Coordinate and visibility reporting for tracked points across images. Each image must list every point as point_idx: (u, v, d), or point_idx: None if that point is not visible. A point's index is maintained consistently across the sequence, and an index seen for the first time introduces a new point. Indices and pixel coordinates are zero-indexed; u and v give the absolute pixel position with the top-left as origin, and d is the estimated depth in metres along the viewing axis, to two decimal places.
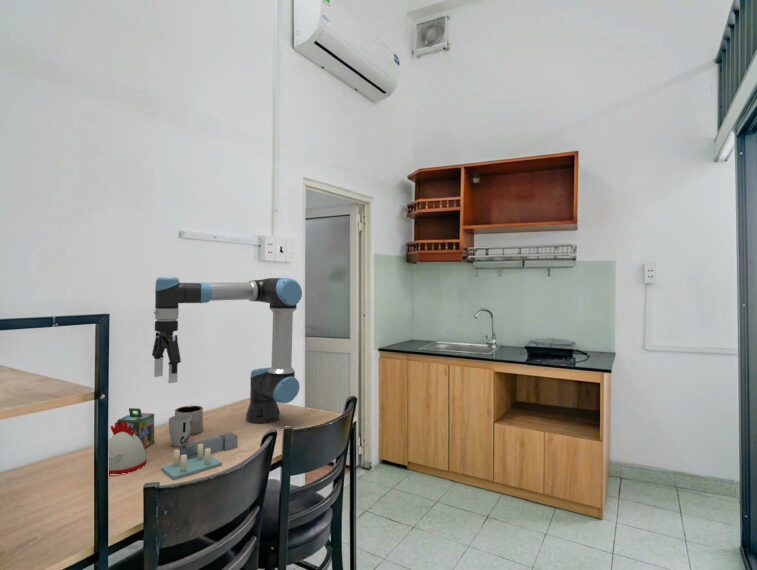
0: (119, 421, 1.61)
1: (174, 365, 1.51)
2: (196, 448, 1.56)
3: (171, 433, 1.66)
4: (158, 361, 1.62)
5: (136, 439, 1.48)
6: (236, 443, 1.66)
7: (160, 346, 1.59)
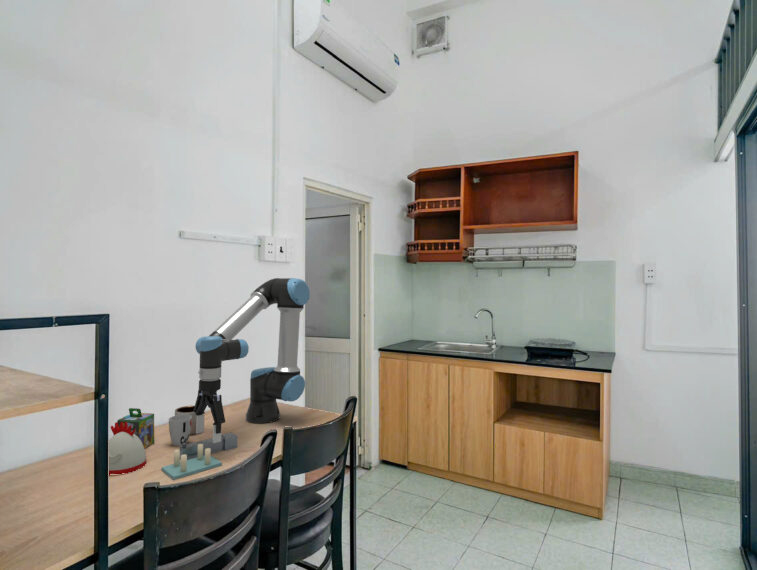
0: (119, 421, 1.61)
1: (218, 425, 1.55)
2: (196, 448, 1.56)
3: (171, 433, 1.66)
4: (200, 418, 1.65)
5: (136, 439, 1.48)
6: (236, 443, 1.66)
7: (203, 404, 1.62)
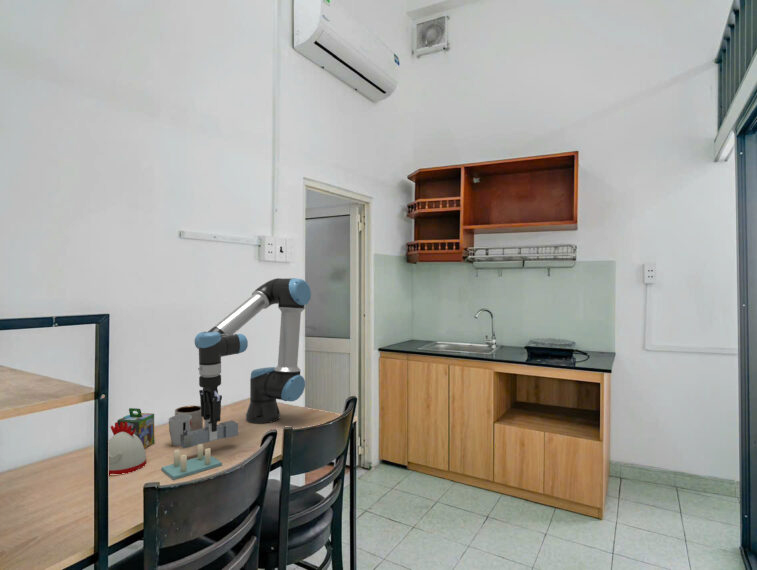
0: (119, 421, 1.61)
1: (214, 424, 1.59)
2: (197, 435, 1.56)
3: (171, 433, 1.66)
4: (208, 422, 1.62)
5: (136, 439, 1.48)
6: (237, 430, 1.66)
7: (206, 402, 1.61)
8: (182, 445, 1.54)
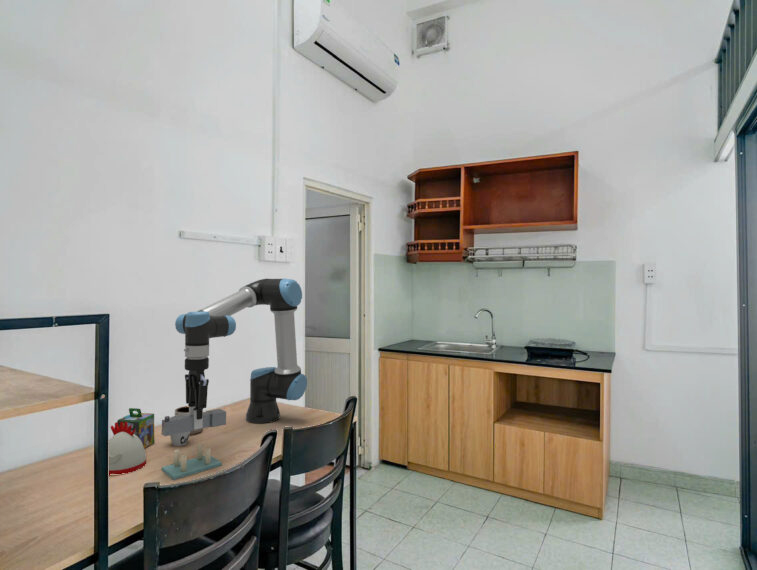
0: (119, 421, 1.61)
1: (199, 411, 1.45)
2: (180, 423, 1.43)
3: None
4: (193, 409, 1.49)
5: (136, 439, 1.48)
6: (225, 419, 1.53)
7: (192, 387, 1.48)
8: (163, 432, 1.40)
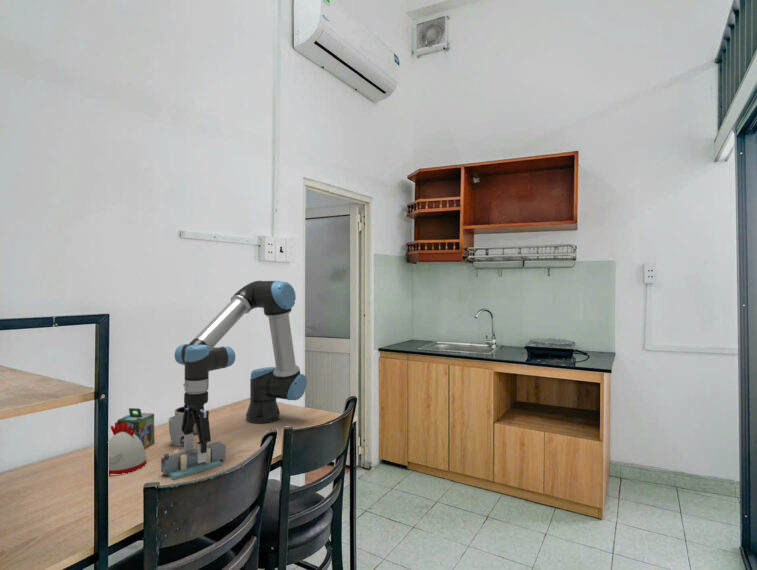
0: (119, 421, 1.61)
1: (204, 444, 1.43)
2: (179, 460, 1.43)
3: (171, 433, 1.66)
4: (189, 437, 1.51)
5: (136, 439, 1.48)
6: (224, 453, 1.53)
7: (190, 419, 1.49)
8: (163, 470, 1.40)
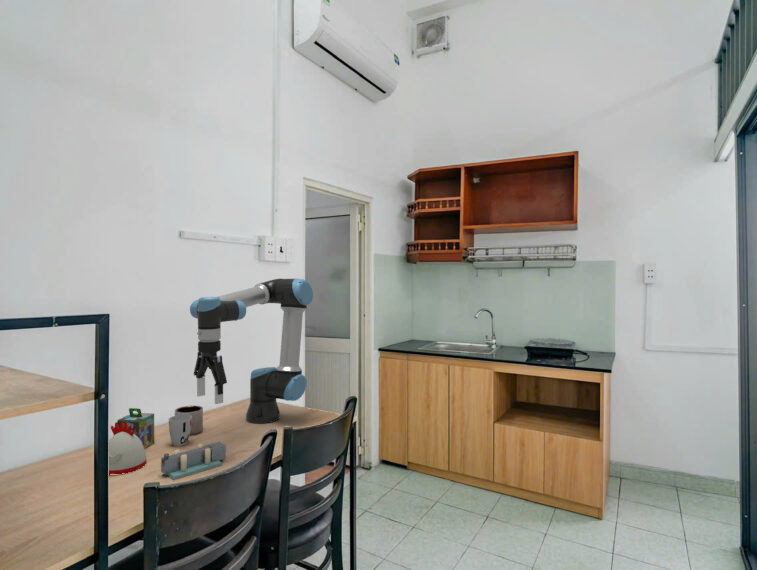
0: (119, 421, 1.61)
1: (220, 386, 1.51)
2: (179, 460, 1.43)
3: (171, 433, 1.66)
4: (201, 380, 1.61)
5: (136, 439, 1.48)
6: (224, 453, 1.53)
7: (203, 366, 1.58)
8: (163, 470, 1.40)
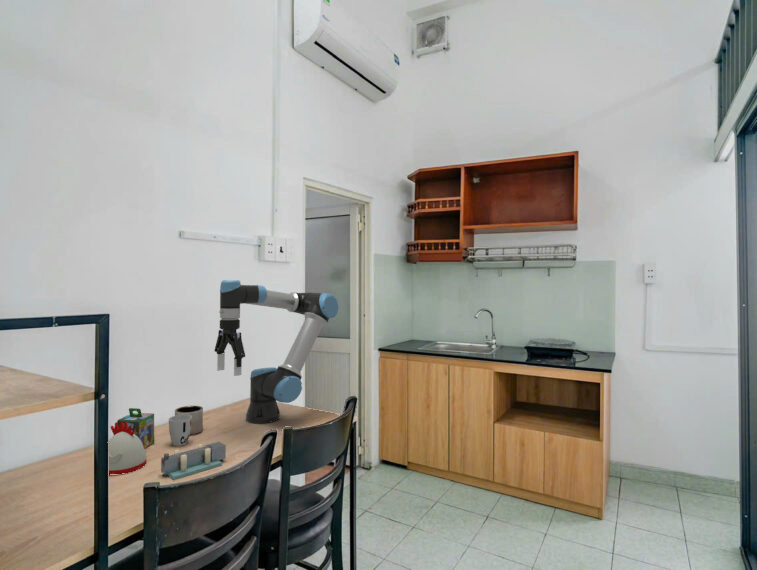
0: (119, 421, 1.61)
1: (239, 359, 1.68)
2: (179, 460, 1.43)
3: (171, 433, 1.66)
4: (221, 356, 1.78)
5: (136, 439, 1.48)
6: (224, 453, 1.53)
7: (223, 342, 1.75)
8: (163, 470, 1.40)
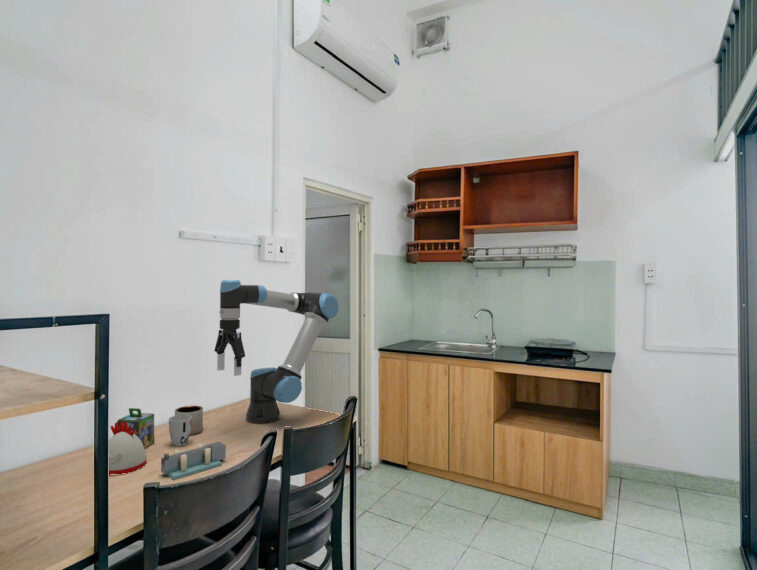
0: (119, 421, 1.61)
1: (239, 359, 1.68)
2: (179, 460, 1.43)
3: (171, 433, 1.66)
4: (221, 356, 1.78)
5: (136, 439, 1.48)
6: (224, 453, 1.53)
7: (223, 342, 1.75)
8: (163, 470, 1.40)
